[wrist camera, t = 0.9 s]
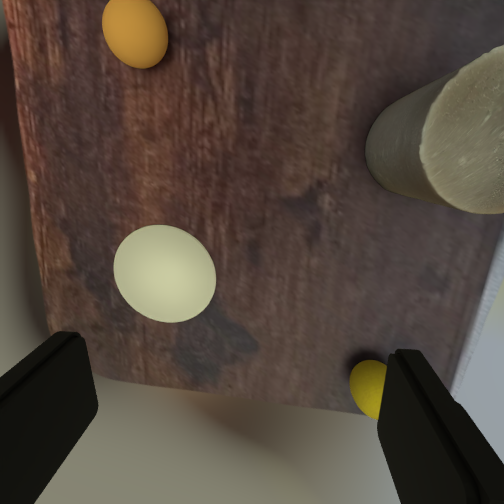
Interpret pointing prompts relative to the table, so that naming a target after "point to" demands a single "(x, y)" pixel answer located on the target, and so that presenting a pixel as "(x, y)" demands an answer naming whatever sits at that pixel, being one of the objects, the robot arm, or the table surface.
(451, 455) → the robot arm
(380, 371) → the lemon
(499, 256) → the table surface
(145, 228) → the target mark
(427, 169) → the pillar candle
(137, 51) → the ball
